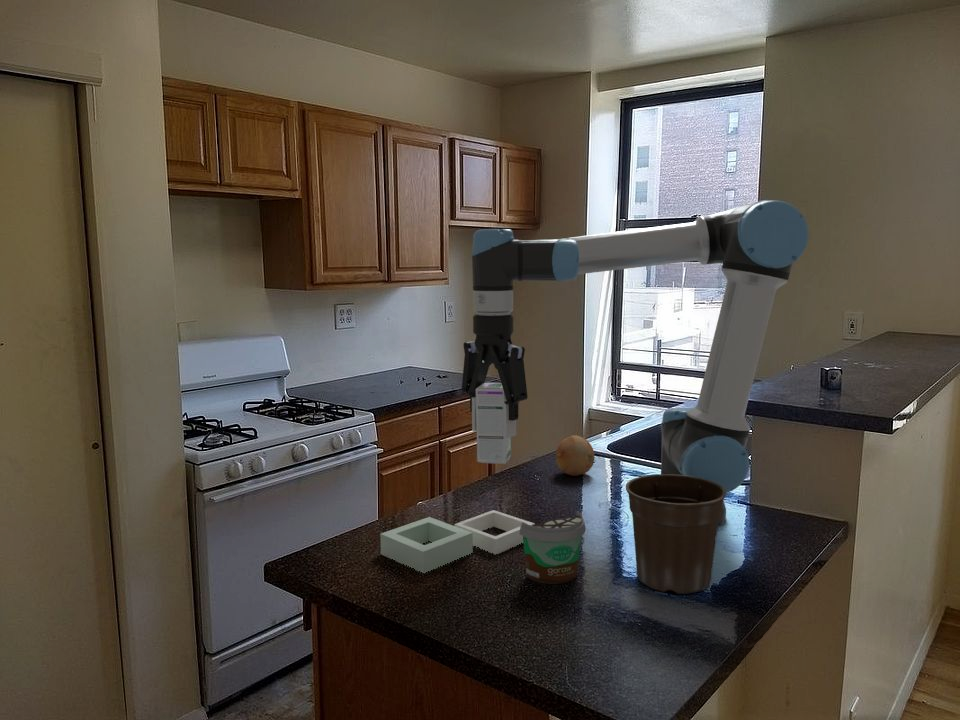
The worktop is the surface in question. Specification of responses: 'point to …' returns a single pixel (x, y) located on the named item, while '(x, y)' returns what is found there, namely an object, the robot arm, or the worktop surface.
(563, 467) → the onion
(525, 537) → the food container
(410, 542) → the socket
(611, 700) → the worktop surface
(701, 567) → the plant pot
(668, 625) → the worktop surface
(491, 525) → the frame
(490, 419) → the syrup box
